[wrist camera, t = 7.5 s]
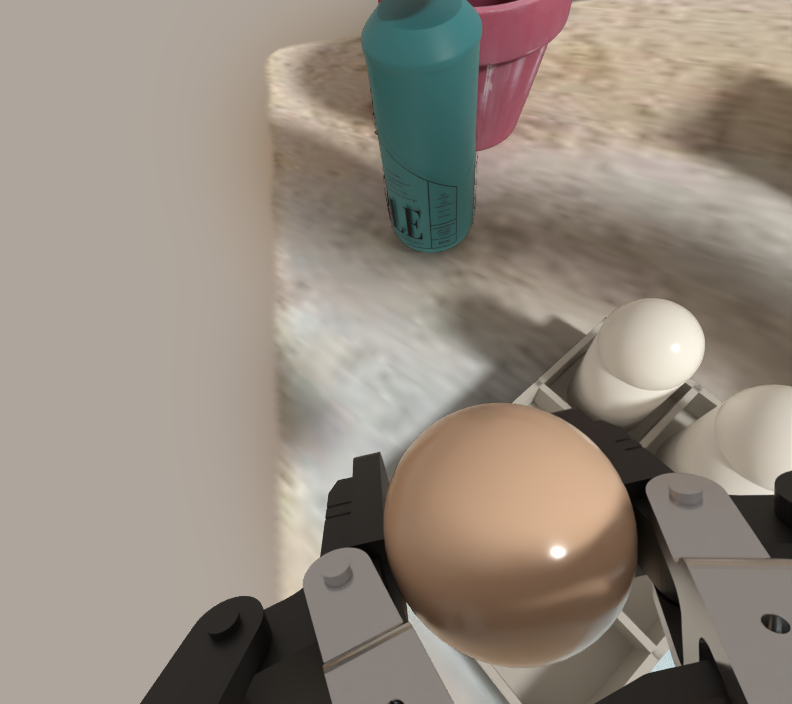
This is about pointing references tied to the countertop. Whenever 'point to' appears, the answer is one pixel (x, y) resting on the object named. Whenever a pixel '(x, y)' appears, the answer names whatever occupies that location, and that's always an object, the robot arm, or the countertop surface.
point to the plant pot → (511, 59)
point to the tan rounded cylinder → (510, 535)
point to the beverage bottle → (426, 115)
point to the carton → (638, 621)
